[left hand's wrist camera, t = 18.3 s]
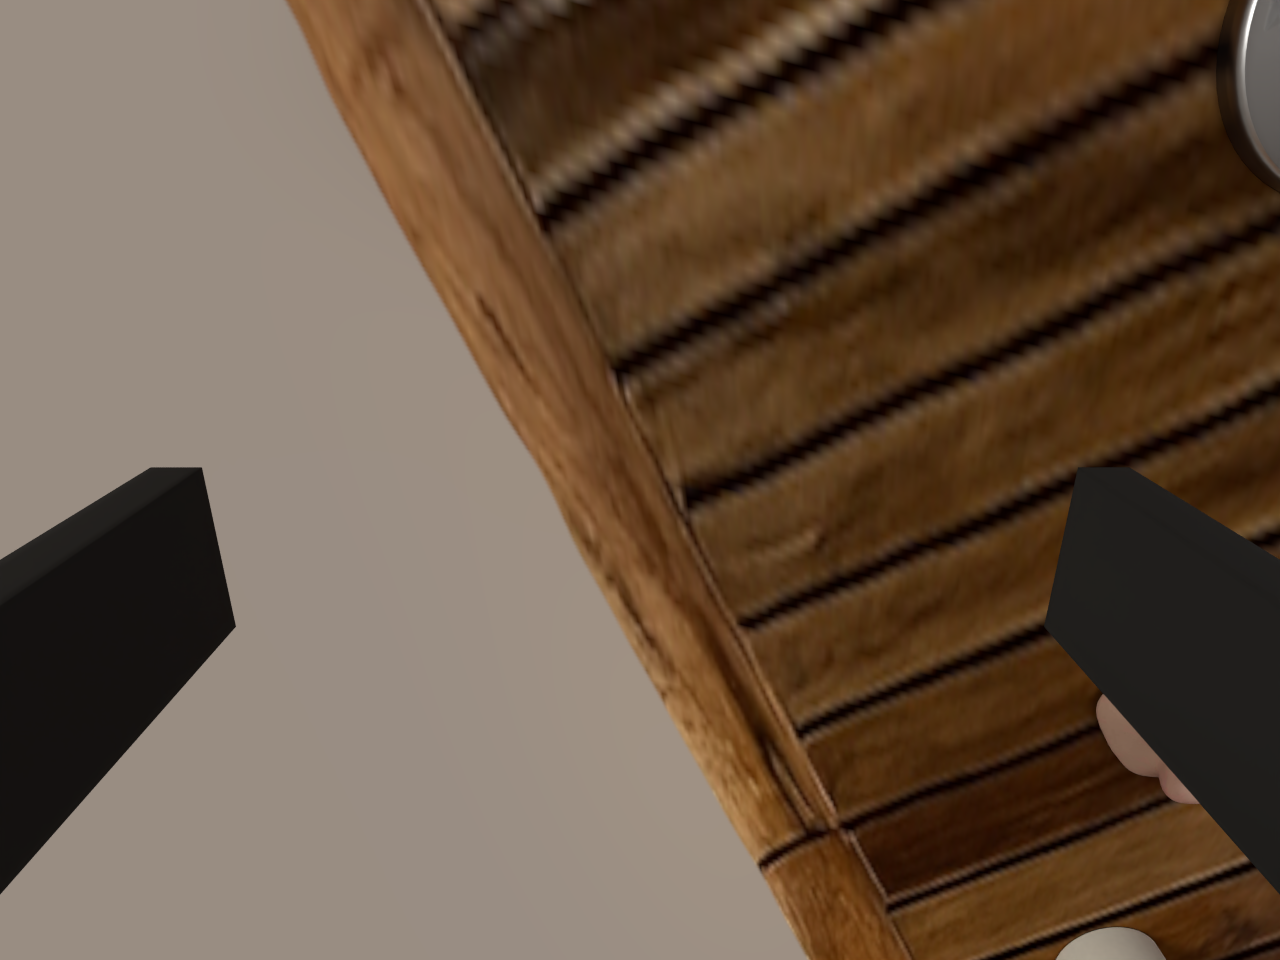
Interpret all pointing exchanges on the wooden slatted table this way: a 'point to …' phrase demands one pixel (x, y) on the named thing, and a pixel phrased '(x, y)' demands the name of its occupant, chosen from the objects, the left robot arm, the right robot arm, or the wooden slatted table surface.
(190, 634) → the left robot arm
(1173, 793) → the anatomical model
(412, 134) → the wooden slatted table surface
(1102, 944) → the can
